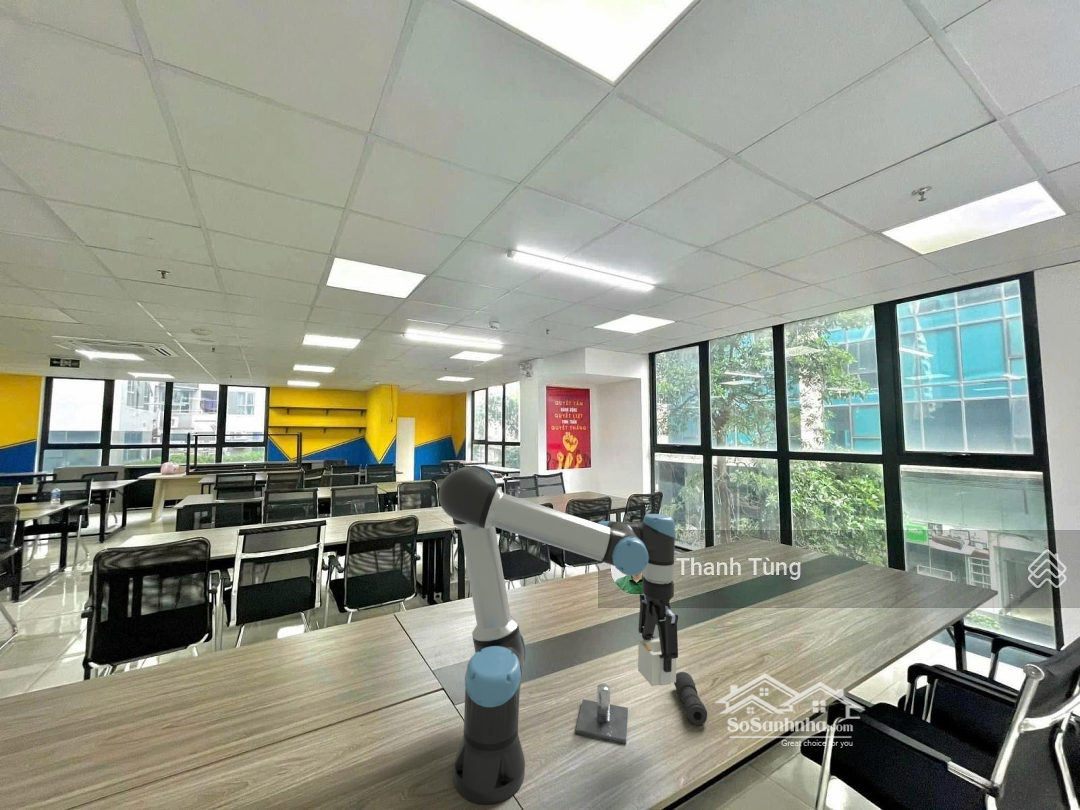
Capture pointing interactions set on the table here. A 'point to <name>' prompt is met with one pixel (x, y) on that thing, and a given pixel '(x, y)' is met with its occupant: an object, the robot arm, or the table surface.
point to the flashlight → (690, 698)
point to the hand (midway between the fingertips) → (656, 675)
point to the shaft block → (603, 718)
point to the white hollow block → (652, 661)
